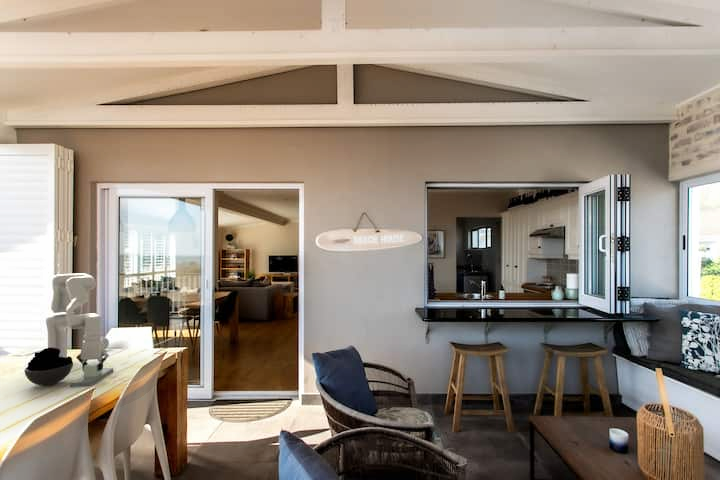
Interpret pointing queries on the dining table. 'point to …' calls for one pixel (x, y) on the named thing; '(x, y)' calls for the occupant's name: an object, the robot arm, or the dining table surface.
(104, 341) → the donut
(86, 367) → the block
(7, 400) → the dining table surface
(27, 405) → the dining table surface
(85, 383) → the board
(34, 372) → the coal bowl
